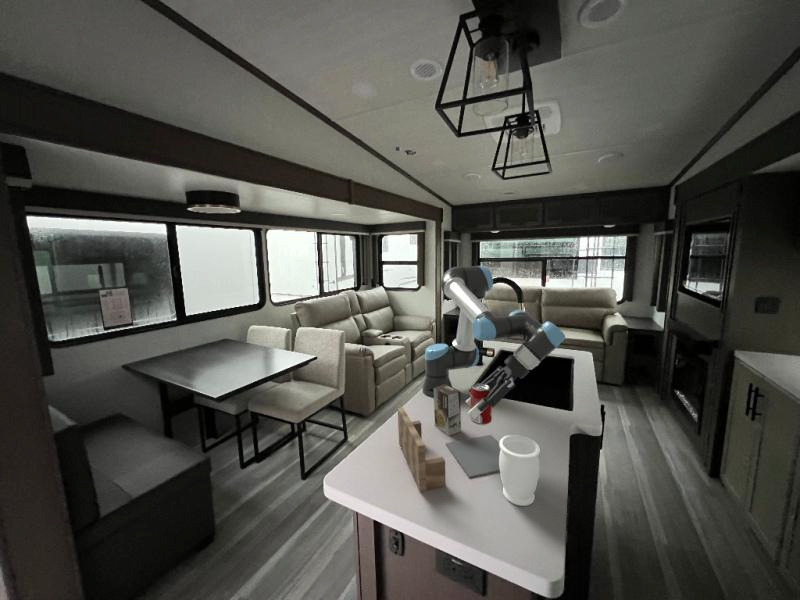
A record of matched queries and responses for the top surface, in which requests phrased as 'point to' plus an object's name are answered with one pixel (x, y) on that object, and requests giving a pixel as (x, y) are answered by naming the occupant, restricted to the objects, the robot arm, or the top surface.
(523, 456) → the jar
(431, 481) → the walnut bay
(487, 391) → the soda can
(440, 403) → the coffee box
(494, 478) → the top surface
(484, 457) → the rubber mat
